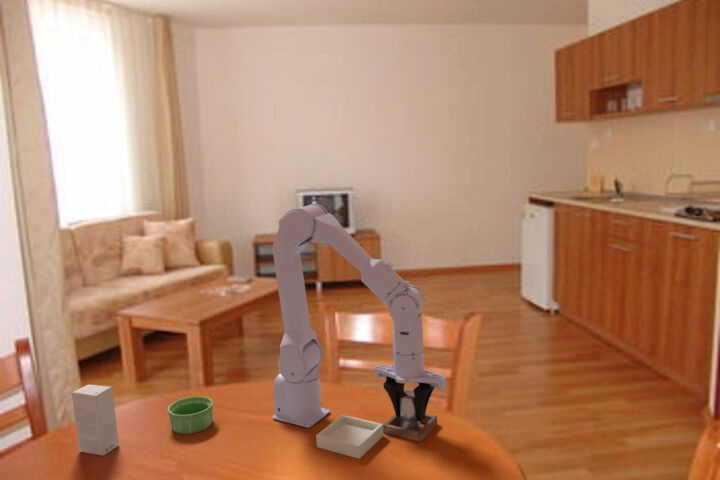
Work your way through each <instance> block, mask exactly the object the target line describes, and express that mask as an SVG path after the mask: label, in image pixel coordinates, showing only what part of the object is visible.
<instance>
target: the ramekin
mask: <svg viewBox="0 0 720 480" xmlns="http://www.w3.org/2000/svg"><path fill="white" fill-rule="evenodd" d="M213 406H214V401H213V399H212V398H210V397H208V396H204V395H203V396H202V395H200V396H199V395H197V396H195V395H194V396H188V397H183V398H180V399H178V400H175V401H173V402H172V403H171V404H169V405H168V407H167V414H168V415H169V422H170V425H171V429H172V431H174V433H177V434H182V435H191V434H195V433H199V432H202V431H204V430H206V429H208V428H209V427H210V426H211V425H212V423H213Z"/></svg>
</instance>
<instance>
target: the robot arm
mask: <svg viewBox="0 0 720 480" xmlns="http://www.w3.org/2000/svg"><path fill="white" fill-rule="evenodd" d="M310 242H311V243H315V244H322V245H323V244H324V245H330V246H331V247H332V248H333V249H334V250H335V251H336V252H337V253H339V254H340V255H341V256H342V257H344V258H345V259H346V260H347V261H348V262H349V263H350V264H352V266H354V267H355V268H356V269H357V270H358V271H359V272H360V278H361V283H363V284H364V285H365V286H366V287H367V289H369V290H370V291H371V292H372V293H373V294H374V295H375V296H376V297H377V298H378V299H380V300H381V302H383V304H385V305H387V306H388V307H387V311H388V314H389V316H390V317H391V319H392V325H393V326H392V341H393V347H392V348H393V365H385V364H384V365H382V364H378V365H376V366H375V367H373V377H374V378H377V379H378V378H380V377H381V378H385V382H384V383H383V385H382V386H383V389H384V390H385V391H386V393H387V395H388V397H389V399H390V401H391V404H392V407H393V410H394V412H395V413H394V415H395V414H396V416H397V417H399V416H400V399H399V394H400V393H401V392H403V391H405V384H406V383H412V384H418V385H417V386H416V387H415V388H414V389H413V391H414V395H415V399H416V405H417V421H420V422H421V421H422V420H423V419H424V418H425V414H427V412H426V411H427V407H428V405H429V401H430V399H431V396H432V393H433V392H434V389H435V388H436V389H437V390H442V391H443V390H444V389H445V388H446V387H447V376H445V375H441V374H438V373H435V372H432V371H429V370H427V369H425V366H424V365H425V364H424V362H425V361H424V360H425V359H424V327H423V316H422V315H423V314H422V313H421V312H422V310H423V309H424V306H425V296H424V294H423V292H422V291H421V290H420V288H419V287H418V286H417V285H412V284H411V283H410V281H408V280H406V281H405V280H404V279H403V278H402V277H401V275H399V274H398V273H397V272H396V271H395V270H394V269H393V266H394V265H393V264H392V263H391V262H390V261H387V262H385V260H384V259H381V258H380V259H376V258H372V256H371V255H369V253H368V252H367V251H366V250H365V249H364V248H363V247H362V246H361V245H360V244H359V243H358V242H357V240H355V238H353V236H352V235H351V234H350V233H349V232H348V231H347V230H346V229H345V228H344V227H343V226H342V224H340V222H339V221H338V219H337V218H336V217H335V216H334V215H333V214H332V213H331V212H328V211H327V209H326V208H325V207H324V206H323V205H321V204H319V203H318V204H317V203H310V204H307V205H305V206H302V207H296V208H295V207H294V208H292V209H289V210H288V211H287V212H286V213H285V214H284V215H283V216H282V217H281V218H280V219H279V220H278V229H277V232H276V235H275V238H274V241H273V244H272V256H273V261H274V262H273V263H274V270H275V277H276V282H277V283H276V284H277V290H278V291H277V292H278V297H279V305H280V311H281V317H282V324H283V332H284V333H283V337H282V339H281V342H280V345H279V352H280V353H279V358H278V361H277V368H278V374H277V375H276V377H275V379H274V382H273V387H272V394H273V395H272V396H273V407H274V415H272V416H271V417H272V419H273V420H275V421H276V420H277V421H280V422H283V423H287V424H293V425H294V426H295V425H296V426H299V427H304V428H308V429H309V428H311V427H312V426H314V425H315V424H316V423H318V422H319V421H320V420H322V419H323V418H324V417H325V416H327V415H328V414H329V413H331V410H330V409H329V408H324V407H322V396H321V379H320V378H321V376H320V370H319V364H320V363H321V362H322V360H323V356H324V351H323V348H322V346H321V344H320V342H319V340H318V337H317V332H316V331H315V330H314V329H313V327H311V320H310V315H309V307H308V300H307V293H306V285H305V278H304V270H303V263H302V257H301V254H302V253H301V252H302V251H304V249H305V248H306V247H307V246H308V244H309V243H310ZM279 372H280V374H279ZM421 423H422V422H421Z"/></svg>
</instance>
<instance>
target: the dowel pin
mask: <svg viewBox="0 0 720 480" xmlns="http://www.w3.org/2000/svg"><path fill="white" fill-rule="evenodd" d="M399 399H400V421H399V423H400V426H399V427H401V428H405V429H410V430H414V431H418V432H419V431H420V430H421V429H422V422H420V421H417V405H416V399H415V395H414V390H411V389H410V390H404V391H403V392H401V393H400V394H399Z"/></svg>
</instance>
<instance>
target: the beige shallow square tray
mask: <svg viewBox="0 0 720 480" xmlns="http://www.w3.org/2000/svg"><path fill="white" fill-rule="evenodd" d="M383 425H384V423H380V422H376V421H371V420H366V419H363V418H360V417H355V416H351V415H345V414H341V415H340V416H338V418H336V419H335V420H333V421H332V422H331V423H329V425H327V426H326V427H325V428H324V429H322V430H320V432H318V433H317V434H315V437H316V440H315V441H316V448H318V449H322V450H324V451H325V450H326V451H330V452H334V453H336V454H340V455H344V456H348V457H351V458H354V459H358V460H359V459H361V458H362V457H363V456H364V455H365V454H366V453H367V452H368V451H370V449H372V448H373V447H374V446H375V445H376V444H377V443H378V442H379V441H380V440H381V439H382V438H383V437H384V436H385V435H384V434H385V433H384V431H383Z"/></svg>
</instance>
